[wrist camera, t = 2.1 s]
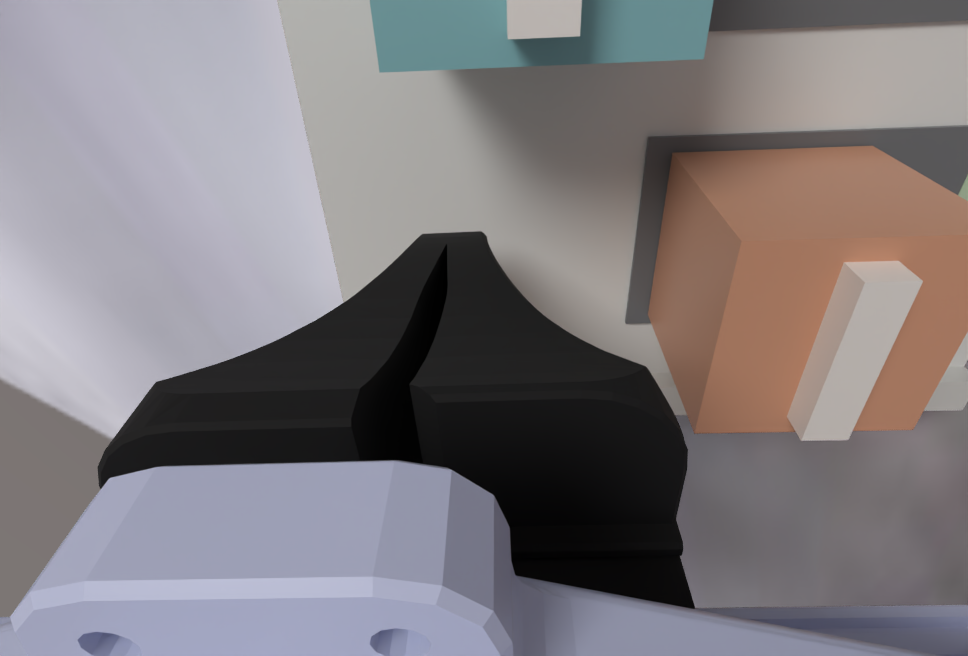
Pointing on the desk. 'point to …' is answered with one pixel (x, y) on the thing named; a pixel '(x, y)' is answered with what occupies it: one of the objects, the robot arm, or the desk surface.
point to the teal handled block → (535, 32)
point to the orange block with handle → (808, 289)
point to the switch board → (613, 144)
